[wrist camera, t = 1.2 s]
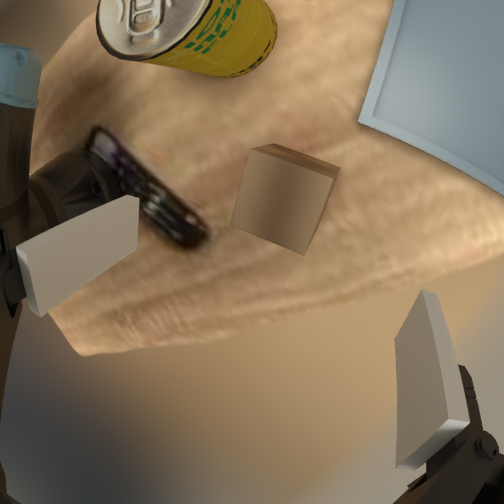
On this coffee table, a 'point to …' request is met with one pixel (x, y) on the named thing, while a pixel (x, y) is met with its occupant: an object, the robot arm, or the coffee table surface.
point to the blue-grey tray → (444, 83)
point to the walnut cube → (283, 196)
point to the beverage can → (189, 33)
